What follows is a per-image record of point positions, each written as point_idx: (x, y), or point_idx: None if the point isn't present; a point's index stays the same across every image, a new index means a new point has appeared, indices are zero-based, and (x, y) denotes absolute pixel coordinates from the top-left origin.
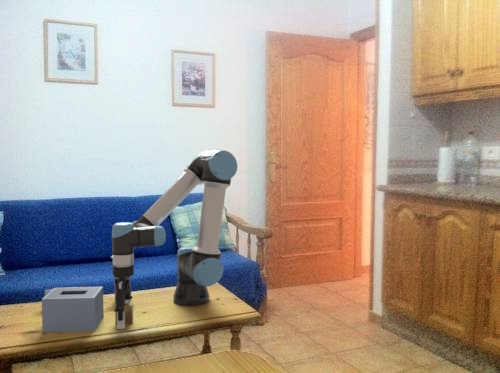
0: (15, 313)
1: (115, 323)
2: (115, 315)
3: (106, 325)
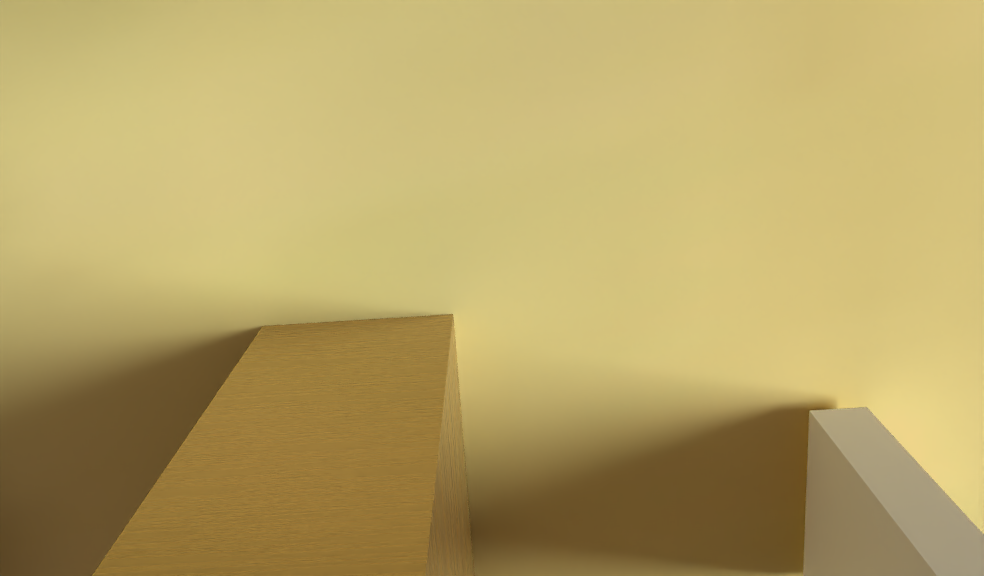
0: None
1: (256, 337)
2: (185, 449)
3: (177, 87)
